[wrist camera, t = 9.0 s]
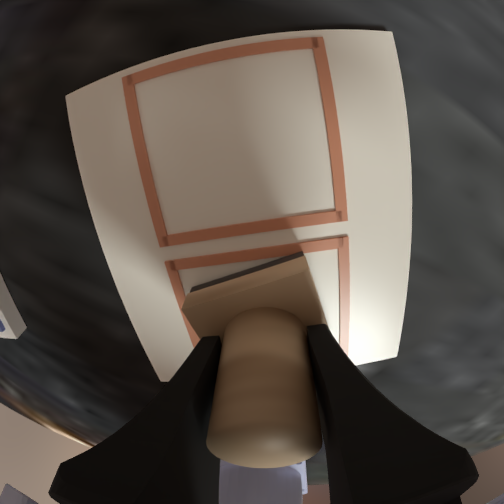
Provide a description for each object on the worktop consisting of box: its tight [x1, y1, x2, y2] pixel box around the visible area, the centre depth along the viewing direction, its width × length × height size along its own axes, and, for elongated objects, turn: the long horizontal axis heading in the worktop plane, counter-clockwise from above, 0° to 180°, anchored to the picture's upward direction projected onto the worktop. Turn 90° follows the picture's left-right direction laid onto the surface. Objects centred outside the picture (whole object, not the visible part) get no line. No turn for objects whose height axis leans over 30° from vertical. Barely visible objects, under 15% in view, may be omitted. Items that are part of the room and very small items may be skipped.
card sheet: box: [65, 29, 412, 382], centre depth 11 cm, size 14×12×1 cm
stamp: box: [181, 251, 329, 468], centre depth 9 cm, size 4×4×6 cm
